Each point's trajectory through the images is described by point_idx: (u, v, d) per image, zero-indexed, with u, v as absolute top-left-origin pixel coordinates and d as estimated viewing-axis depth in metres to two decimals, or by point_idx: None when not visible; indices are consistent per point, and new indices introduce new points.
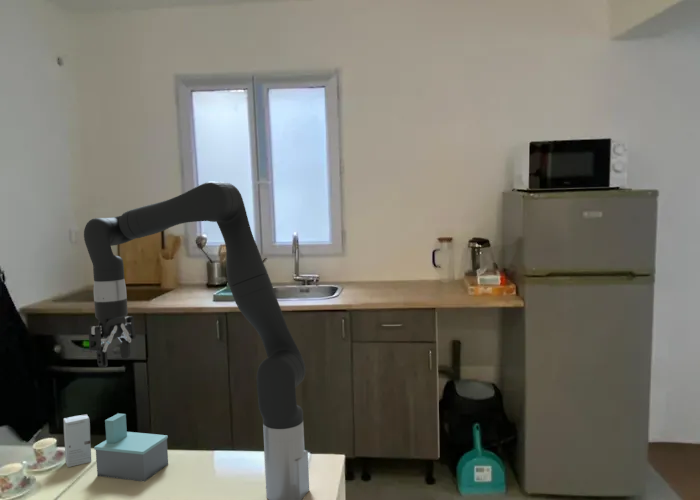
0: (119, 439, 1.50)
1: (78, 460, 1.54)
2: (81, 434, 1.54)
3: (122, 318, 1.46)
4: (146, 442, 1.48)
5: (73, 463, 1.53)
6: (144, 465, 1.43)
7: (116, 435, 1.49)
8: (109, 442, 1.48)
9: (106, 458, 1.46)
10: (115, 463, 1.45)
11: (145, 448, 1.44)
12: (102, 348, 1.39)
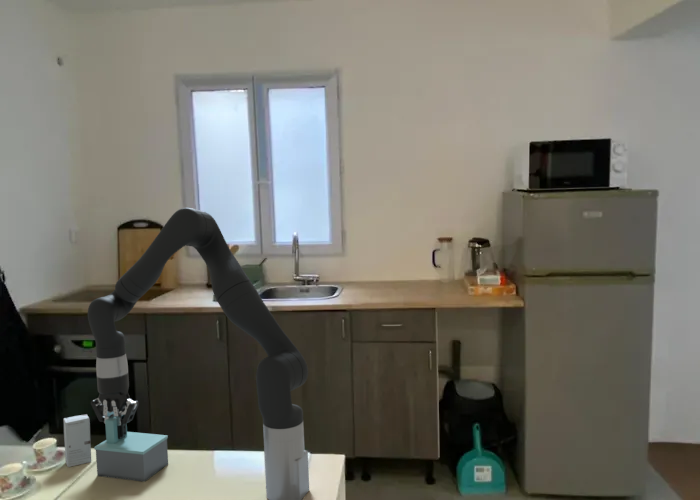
0: (119, 439, 1.50)
1: (78, 460, 1.54)
2: (81, 434, 1.54)
3: None
4: (146, 442, 1.48)
5: (73, 463, 1.53)
6: (144, 465, 1.43)
7: (116, 435, 1.49)
8: (109, 442, 1.48)
9: (106, 458, 1.46)
10: (115, 463, 1.45)
11: (145, 448, 1.44)
12: None
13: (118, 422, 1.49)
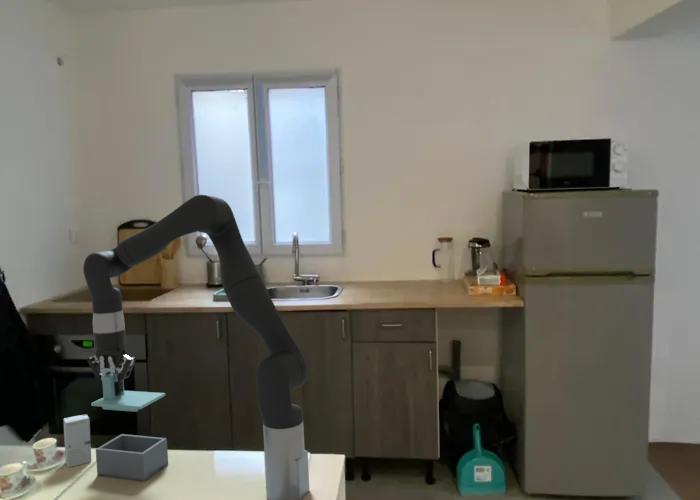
0: (116, 396, 1.49)
1: (78, 460, 1.54)
2: (81, 434, 1.54)
3: None
4: (143, 399, 1.47)
5: (73, 463, 1.53)
6: (144, 465, 1.43)
7: (113, 392, 1.48)
8: (106, 399, 1.47)
9: (106, 458, 1.46)
10: (115, 463, 1.45)
11: (142, 403, 1.43)
12: None
13: (115, 379, 1.48)
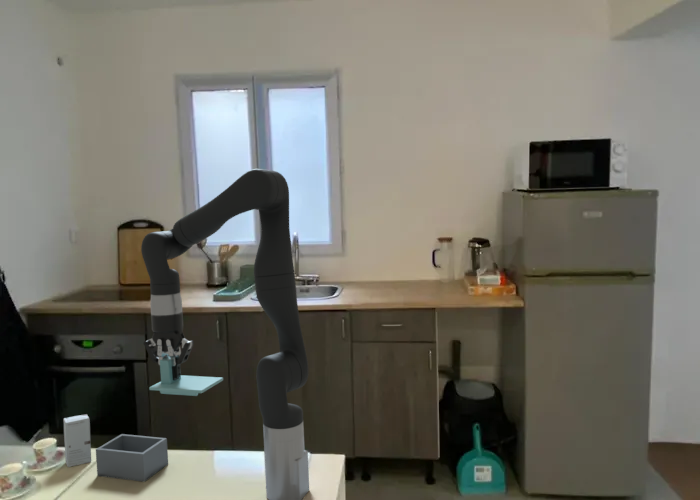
0: (174, 380, 1.45)
1: (78, 460, 1.54)
2: (81, 434, 1.54)
3: None
4: (202, 383, 1.43)
5: (73, 463, 1.53)
6: (144, 465, 1.43)
7: (171, 376, 1.44)
8: (164, 383, 1.43)
9: (106, 458, 1.46)
10: (115, 463, 1.45)
11: (203, 387, 1.39)
12: None
13: (172, 363, 1.44)
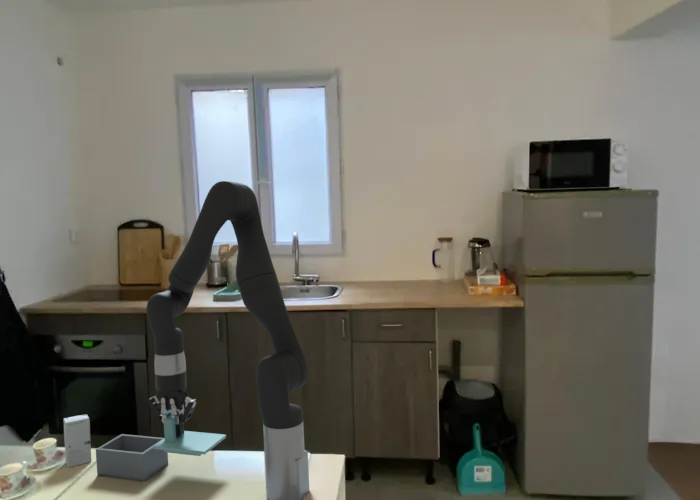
0: (177, 438, 1.46)
1: (78, 460, 1.54)
2: (81, 434, 1.54)
3: None
4: (205, 441, 1.44)
5: (73, 463, 1.53)
6: (144, 465, 1.43)
7: (174, 434, 1.45)
8: (167, 441, 1.45)
9: (106, 458, 1.46)
10: (115, 463, 1.45)
11: (206, 448, 1.41)
12: None
13: (176, 421, 1.45)
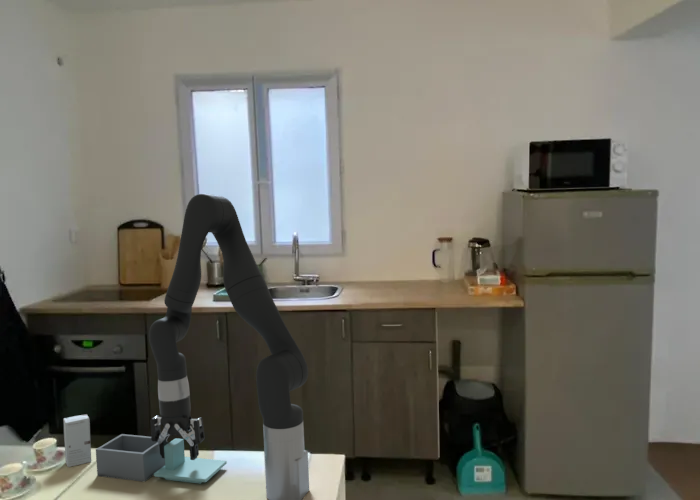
0: (178, 465, 1.47)
1: (78, 460, 1.54)
2: (81, 434, 1.54)
3: None
4: (206, 468, 1.45)
5: (73, 463, 1.53)
6: (144, 465, 1.43)
7: (175, 461, 1.45)
8: (168, 468, 1.45)
9: (106, 458, 1.46)
10: (115, 463, 1.45)
11: (207, 475, 1.41)
12: None
13: (190, 443, 1.44)
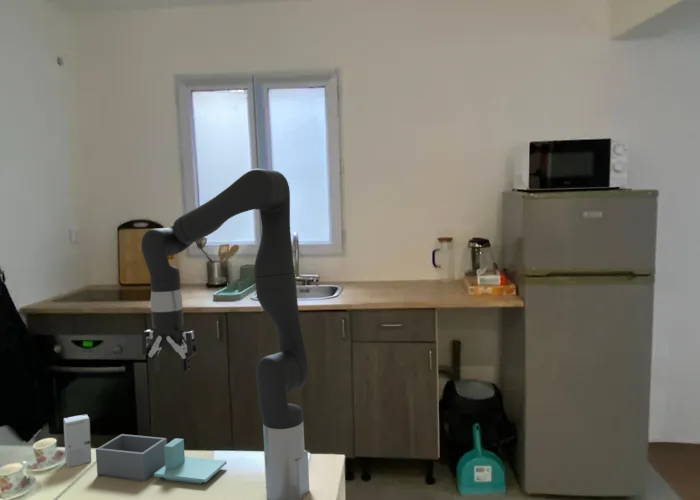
0: (178, 465, 1.47)
1: (78, 460, 1.54)
2: (81, 434, 1.54)
3: None
4: (206, 468, 1.45)
5: (73, 463, 1.53)
6: (144, 465, 1.43)
7: (175, 461, 1.45)
8: (168, 468, 1.45)
9: (106, 458, 1.46)
10: (115, 463, 1.45)
11: (207, 475, 1.41)
12: None
13: (182, 356, 1.43)
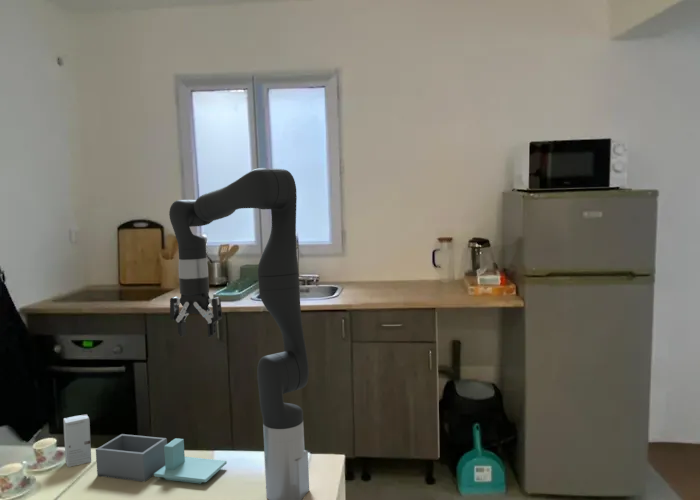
0: (178, 465, 1.47)
1: (78, 460, 1.54)
2: (81, 434, 1.54)
3: None
4: (206, 468, 1.45)
5: (73, 463, 1.53)
6: (144, 465, 1.43)
7: (175, 461, 1.45)
8: (168, 468, 1.45)
9: (106, 458, 1.46)
10: (115, 463, 1.45)
11: (207, 475, 1.41)
12: None
13: (208, 320, 1.51)
